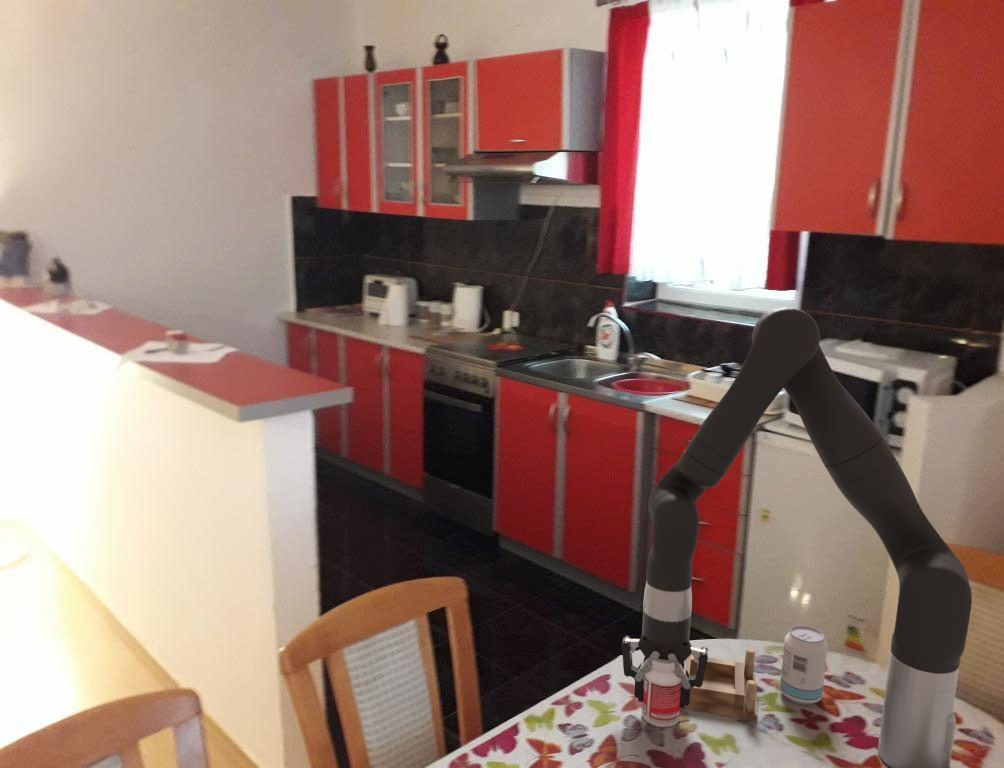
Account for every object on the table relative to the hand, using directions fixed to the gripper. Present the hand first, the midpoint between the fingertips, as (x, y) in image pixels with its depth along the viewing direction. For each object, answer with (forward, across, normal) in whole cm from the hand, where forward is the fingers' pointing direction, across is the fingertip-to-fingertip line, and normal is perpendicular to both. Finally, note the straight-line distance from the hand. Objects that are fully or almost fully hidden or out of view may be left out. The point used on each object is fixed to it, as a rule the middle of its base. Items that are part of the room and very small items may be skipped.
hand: (661, 702), depth 136 cm
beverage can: (+3, -23, -13) cm, 27 cm away
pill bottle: (+3, 0, 0) cm, 3 cm away
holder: (+3, -8, -10) cm, 13 cm away
